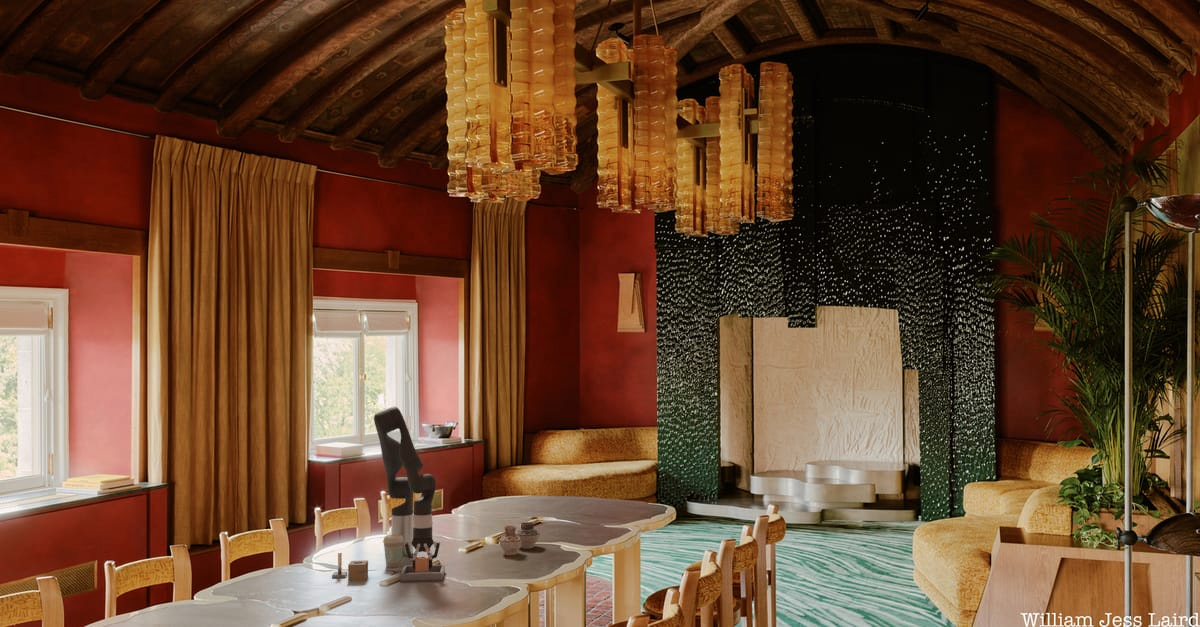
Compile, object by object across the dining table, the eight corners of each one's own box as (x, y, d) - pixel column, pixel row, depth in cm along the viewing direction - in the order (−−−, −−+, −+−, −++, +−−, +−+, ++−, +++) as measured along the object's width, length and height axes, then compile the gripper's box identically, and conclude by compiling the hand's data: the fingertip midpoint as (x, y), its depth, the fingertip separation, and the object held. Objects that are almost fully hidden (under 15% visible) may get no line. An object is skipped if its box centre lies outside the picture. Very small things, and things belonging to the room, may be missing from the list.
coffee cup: (381, 564, 382) (381, 535, 382) (402, 562, 385) (402, 533, 385) (384, 569, 374) (384, 539, 374) (405, 567, 377) (405, 537, 377)
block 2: (415, 571, 358) (415, 558, 358) (416, 568, 363) (416, 555, 363) (428, 571, 358) (428, 558, 359) (429, 568, 363) (429, 555, 364)
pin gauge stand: (334, 574, 365) (334, 551, 365) (347, 574, 365) (347, 551, 366) (332, 578, 360) (332, 554, 360) (345, 577, 360) (345, 554, 361)
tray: (404, 573, 367) (404, 565, 367) (444, 572, 368) (444, 564, 369) (400, 582, 353) (400, 574, 353) (442, 581, 355) (442, 573, 355)
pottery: (493, 555, 397) (493, 527, 397) (522, 543, 420) (522, 517, 420) (516, 557, 392) (516, 529, 393) (544, 545, 415) (544, 519, 415)
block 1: (351, 577, 361) (351, 560, 362) (367, 576, 362) (368, 560, 362) (348, 581, 355) (348, 564, 355) (365, 581, 356) (365, 564, 356)
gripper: (403, 527, 357) (402, 571, 356) (440, 527, 358) (440, 570, 358) (405, 524, 364) (405, 567, 364) (441, 523, 366) (441, 566, 365)
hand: (422, 568), depth 361 cm, fingers closed on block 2, 5 cm apart
